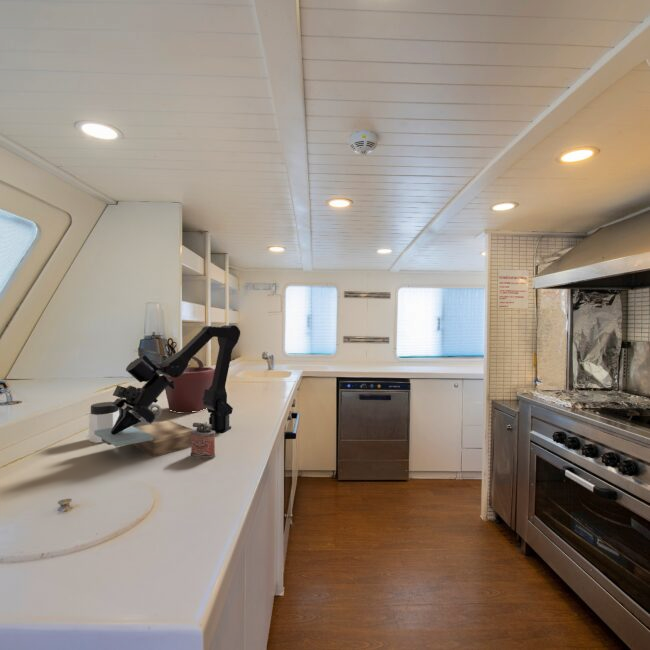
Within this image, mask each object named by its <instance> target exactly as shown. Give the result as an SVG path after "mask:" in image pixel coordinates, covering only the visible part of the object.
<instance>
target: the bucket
mask: <svg viewBox="0 0 650 650" xmlns="http://www.w3.org/2000/svg"><path fill="white" fill-rule="evenodd" d="M191 359H192V360H193V361H194V362H196V364H197V366H190V367H189V366H187V368H186V369H185V371H184V372H183V373H182V375H181V376H179V377H168V376H165V377H166V378H167V379H168V380H173V381H174V389H170V388H167V387H166V388H165V390H164V391H165V395H166V400H167V404H168V410H169V411H170V410H172V411H176V412H192V411H200V410H203V409H206V407H205V406H204V404H203V402H204V400H202V399H203V397H204V391H205V389H209V388H210V387H211V385H212V381H213V377H214V372H215V368H214V367H211V366H210V367H209V366H207V367H206V366H205V363H204V362H203V360H202V359H200V358H199V357H197V356H196V355H194V356H193V357H192V358H191ZM206 410H207V409H206ZM203 411H204V410H203ZM200 412H201V411H200Z"/></svg>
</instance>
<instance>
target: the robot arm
mask: <svg viewBox="0 0 650 650" xmlns="http://www.w3.org/2000/svg"><path fill="white" fill-rule="evenodd" d="M240 337H241V330H240V328H239V327H238V326H237V325H232V324H231V325H228V324H227V325H226V324H225V325H222V326H214V325H205V326H203V327H202V328H201V330H200V331H199V332H198V333H197V334H196V335H195V336H193V337H192V339H191V340H190V341H188V343H187V344H186V345H185V346H184V347H182V348H181V349H180V350H179V351H177V352H175V353H174V354H172V355H170V356H168V357H167V358H165V359H164V360H162V361H161V363H156V364H154V363H153V362H152V361H151V360H150V358H149V357H147V356H146V355H143V354H142V355H140V357H138V358H136V359H135V360H133V361H131V362H130V363H128V365H127V366H126V368H125V371H126V372H127V373H128V374H129V375H131V377H133V378H134V380H137V382H139V383H142V382H144V384H143V386H142V387H136V386H133V385H128V386H127V387H125V386H122V385H117V386H116V387H115V389H114V392H113V394H112V396H114V397H117V398H116V399H115V400H114V401H112V402H113V404H114V405H115V406H117V407H118V410H119V417H118V419H117V421H116V423H115V425H114V427H113V428H112V430H111V434H113V435H115V434H117V433H119V432H121V431H123V430H124V429H126V428H128V427H130V426H133V425H135V424H137V423H139V422H141V420H140V419H141V418H142V417H143V418H144V419H145V420H146V422H148V423H150V424H153V421H155V420H156V419H155V415H156V413H155V412H153V410H152V411H151V410H149V409H148V408H149V407H150V405H151V404H157V402H158V401H159V400H158V397H160V395H161V394H162V393H163V392H164V391H165V388H166V387H167V388H170V389H174V381H173V380H168V379H167V378H166V377H165V376H168V377H179V376H181V375H182V373H183V372H184V371H185V369H186V368H187V367H189V363H190V361H191V359H192V357H193V356H196V355H197V353H199V352H200V351H201V349H202V348H204V346H206V345H207V344H208V342H210V340H212V338H217V343H218V352H217V358H216V362H215V367H214V369H215V372H214V377H213V381H212V385H211V387H210V388H209V389H205V391H204V397H203V399H202V400H204V402H203V404H204V406H205V407H206V408H207V409H206V410H207V412H208V413H209V417H208V424H211V430H212V431H215V433H225V432H227V431H229V430H230V429H232V426H230V415H232V413H233V410H234V407H232V406H231V405H230V404H229V403H228V393H227V391H226V384H227V379H228V374H229V370H230V369H229V368H230V363H231V359H232V354H233V350H234V348H235V347H236V345H237V344H238V342H239V339H240ZM160 374H161V375H160ZM154 419H155V420H154Z"/></svg>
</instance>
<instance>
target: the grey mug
mask: <svg viewBox="0 0 650 650" xmlns="http://www.w3.org/2000/svg"><path fill="white" fill-rule="evenodd" d="M153 408H156V409H157V413H155V419H154V420H153V421H155V420H156V419H157V420H158V419H159V417H161V415H162V407H161V405H160V404H158V403H152V404H151V405H150V407H149V408H148V409H149V410H151V411H152V412H153ZM140 420H141V422H139V423H137V424H135V425H133V427H140V426H145V425H150V423H148V422H146V420H145V419H144V418H143V417H142V418H141V419H140Z"/></svg>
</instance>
